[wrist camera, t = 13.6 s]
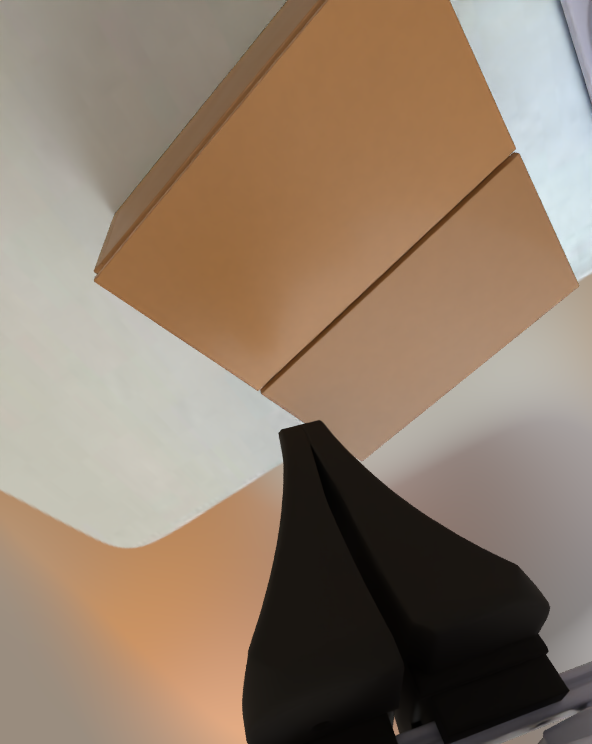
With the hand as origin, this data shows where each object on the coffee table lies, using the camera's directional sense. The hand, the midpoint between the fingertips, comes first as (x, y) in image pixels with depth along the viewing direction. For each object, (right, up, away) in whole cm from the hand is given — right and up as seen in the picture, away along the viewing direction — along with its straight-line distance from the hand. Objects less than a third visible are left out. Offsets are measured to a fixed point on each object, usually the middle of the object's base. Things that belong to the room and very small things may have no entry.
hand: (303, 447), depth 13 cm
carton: (+1, +9, +7) cm, 12 cm away
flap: (0, +7, 0) cm, 7 cm away
